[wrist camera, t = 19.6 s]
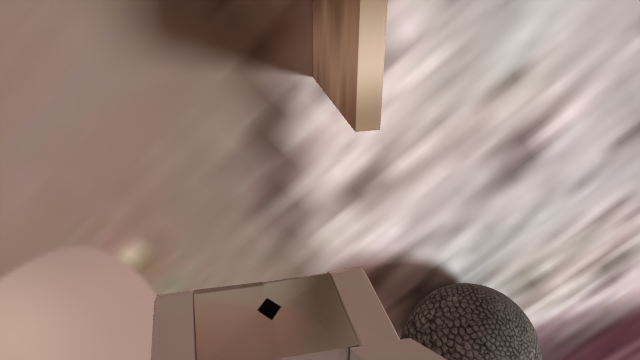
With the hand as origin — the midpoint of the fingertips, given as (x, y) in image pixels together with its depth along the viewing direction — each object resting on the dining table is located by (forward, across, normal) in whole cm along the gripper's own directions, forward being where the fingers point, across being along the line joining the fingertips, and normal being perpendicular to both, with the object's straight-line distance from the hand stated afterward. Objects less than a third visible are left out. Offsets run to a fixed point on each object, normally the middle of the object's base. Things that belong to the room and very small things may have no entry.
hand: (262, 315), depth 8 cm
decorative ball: (+25, -17, +24) cm, 39 cm away
